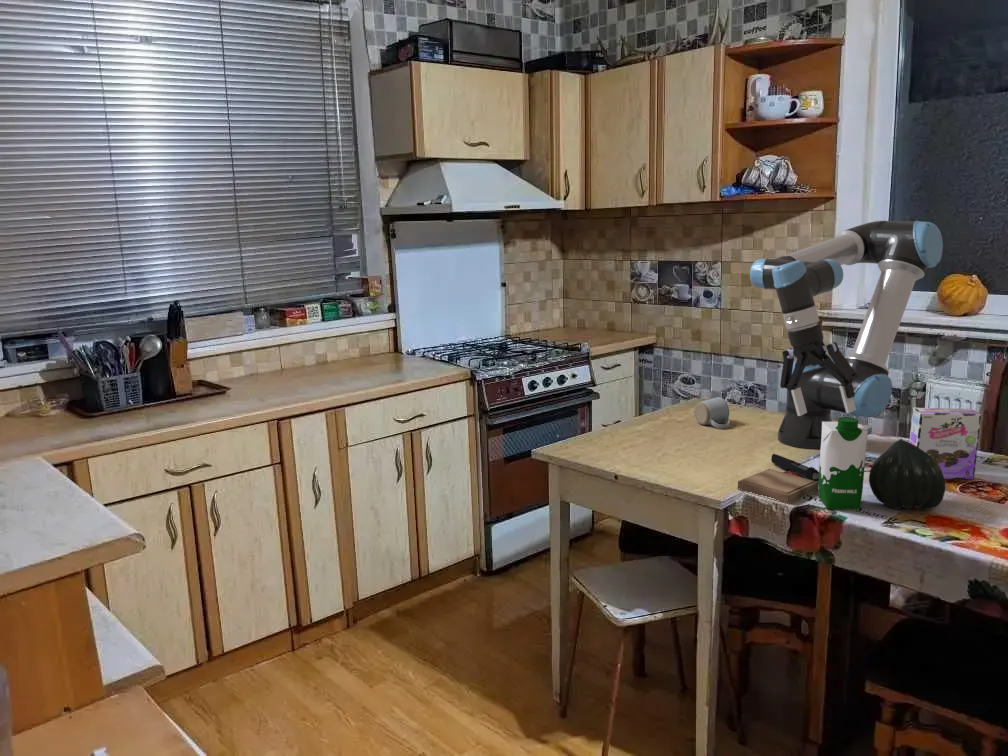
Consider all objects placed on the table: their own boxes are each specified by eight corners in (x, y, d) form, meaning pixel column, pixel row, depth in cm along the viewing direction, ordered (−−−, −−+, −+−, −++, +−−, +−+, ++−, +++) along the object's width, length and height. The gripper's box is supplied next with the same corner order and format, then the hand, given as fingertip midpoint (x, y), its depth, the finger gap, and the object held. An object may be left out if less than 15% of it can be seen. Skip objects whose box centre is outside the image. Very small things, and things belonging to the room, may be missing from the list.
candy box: (913, 478, 200) (919, 412, 196) (905, 470, 205) (911, 406, 202) (974, 480, 198) (982, 413, 194) (965, 472, 204) (972, 407, 200)
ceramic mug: (691, 422, 252) (692, 398, 250) (712, 418, 255) (713, 394, 254) (715, 431, 243) (716, 406, 241) (736, 427, 246) (738, 402, 244)
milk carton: (824, 510, 181) (830, 422, 177) (813, 496, 190) (818, 411, 185) (865, 511, 180) (873, 422, 176) (852, 496, 189) (859, 411, 185)
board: (768, 476, 203) (769, 467, 203) (818, 490, 193) (818, 480, 193) (737, 489, 195) (738, 480, 194) (787, 504, 185) (788, 494, 185)
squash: (948, 500, 171) (946, 435, 177) (869, 494, 176) (870, 431, 183) (941, 525, 182) (940, 462, 189) (867, 518, 188) (868, 458, 195)
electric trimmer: (779, 463, 214) (779, 451, 213) (822, 481, 200) (823, 468, 199) (767, 465, 213) (767, 453, 212) (810, 483, 199) (811, 471, 198)
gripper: (751, 337, 204) (774, 419, 206) (839, 323, 183) (863, 415, 185) (771, 330, 208) (793, 410, 210) (859, 315, 187) (882, 405, 188)
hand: (826, 413), depth 197 cm, fingers open, 13 cm apart
